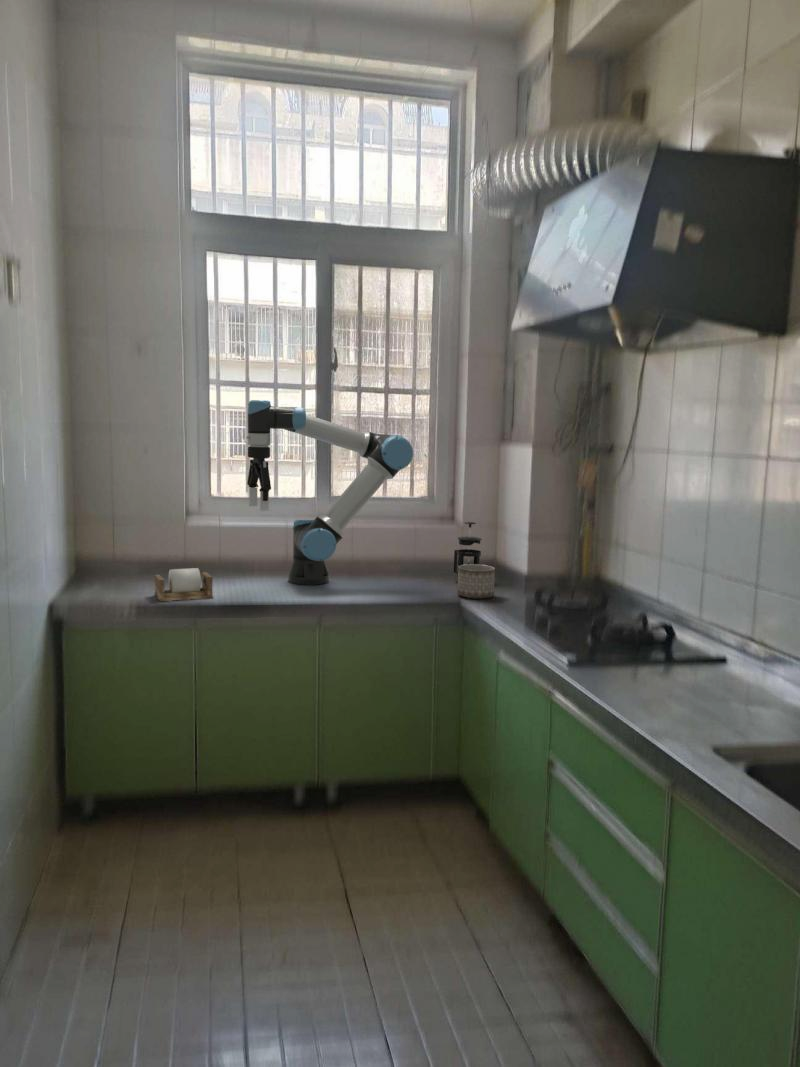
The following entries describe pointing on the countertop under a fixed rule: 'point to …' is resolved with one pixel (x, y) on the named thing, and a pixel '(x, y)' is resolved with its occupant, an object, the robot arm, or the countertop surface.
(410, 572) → the countertop surface
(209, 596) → the holder
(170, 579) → the roll
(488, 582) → the planter
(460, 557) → the french press
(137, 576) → the countertop surface
